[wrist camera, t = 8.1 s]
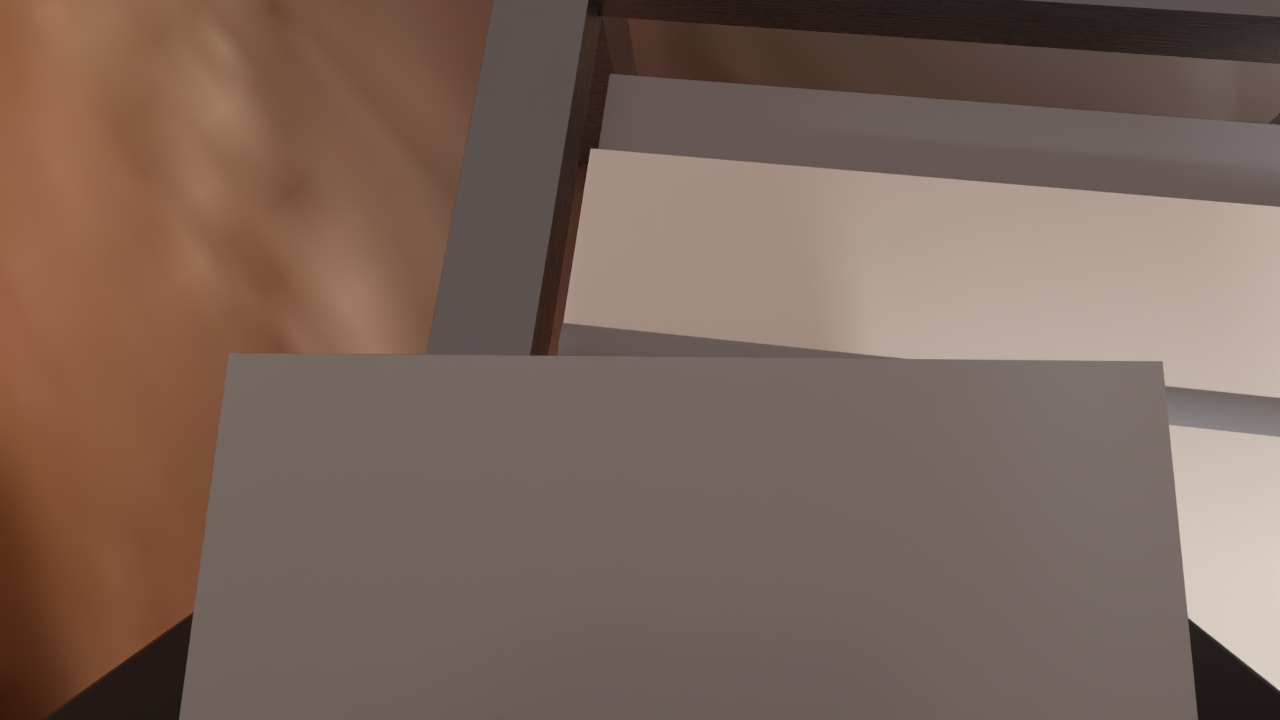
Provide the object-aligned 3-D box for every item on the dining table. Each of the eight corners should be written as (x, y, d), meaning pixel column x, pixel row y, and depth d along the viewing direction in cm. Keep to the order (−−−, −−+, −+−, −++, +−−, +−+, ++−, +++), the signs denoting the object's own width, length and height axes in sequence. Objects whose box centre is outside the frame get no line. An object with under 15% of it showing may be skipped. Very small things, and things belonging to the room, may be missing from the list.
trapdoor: (621, 132, 18) (604, 50, 16) (1341, 192, 17) (1454, 111, 14) (517, 832, 15) (475, 874, 13) (1371, 972, 14) (1517, 1050, 11)
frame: (576, 100, 23) (515, -115, 17) (1312, 159, 22) (1579, -55, 15) (439, 944, 19) (281, 1115, 12) (1340, 1104, 17) (1732, 1406, 11)
